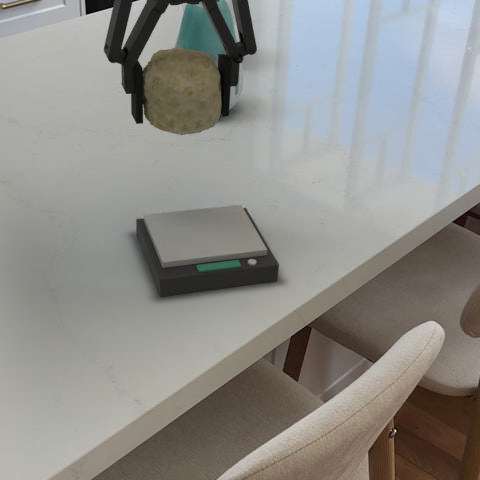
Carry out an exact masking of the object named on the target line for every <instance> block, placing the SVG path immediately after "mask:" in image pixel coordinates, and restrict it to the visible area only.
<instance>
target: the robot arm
mask: <svg viewBox="0 0 480 480" xmlns="http://www.w3.org/2000/svg"><path fill="white" fill-rule="evenodd" d="M133 2H134V0H114V1H113V5H112V11H111V14H110V19H109V23H108V28H107V32H106V37H105V41H104V46H103V53H104V54H105V57H106V58H107V60H108V62H109V63H111V64H119V65H120V67H121V69H120V70H121V86H122V89H123V90H124V92H125V94H126V95H130V113H131V116H132V118H133V119H134V122H135V124H136V125H140V124H144V107H143V69H144V67H142V65H141V63H140V62H139V61H140V60H139V59H140V57H141V55H142V53H143V51H144V49H145V47H146V45H147V44H148V41H149V40H150V38H151V36H152V34H153V32H154V30H155V28H156V26H157V25H158V22H159V20H160V18H161V17H162V15H163V14H164V13H166V11H167V9H168V8H169V5H170V6H180V5H182V4H183V3H188V4H192V5H194V4H199V2H201V4H202V5H203V7H204V9H205V11H206V13H207V15H208V17H209V19H210V21H211V23H212V25H213V27H214V29H215V31H216V33H217V35H218V37H219V39H220V41H221V43H222V45H223V47H224V49H225V51H226V55H225V54H218V69H219V72H220V82H221V115H220V116H221V117H223V118H225V117H227V118H228V117H230V110H229V107H230V88H231V87H232V86H237V84H238V82H239V65H240V63H243V61H244V57H246V56H248V55H250V56H253V55H255V54H256V53H257V51H258V46H257V41H256V35H255V31H254V24H253V21H252V20H253V19H252V15H251V14H252V13H251V9H250V4H249V0H232V4H233V9H234V14H235V20H236V23H235V25H236V28H237V35H238V39H239V41H237V43H236V42H235V40H234V38H233V36H232V34H231V32H230V30H229V28H228V26H227V24H226V22H225V20H224V18H223V16H222V14H221V11H220V9H219V7H218V4H217V2H216V0H146V2H145V4H144V6H143V8H142V10H141V12H140V14H139V16H138V17H137V20H136V21H135V23H134V25H133V27H132V29H131V31H130V33H129V35H128V37H127V39H126V41H125V43H124V40H125V36H126V33H127V32H126V31H127V28H128V23H129V18H130V14H131V10H132V6H133Z"/></svg>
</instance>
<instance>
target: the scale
mask: <svg viewBox="0 0 480 480" xmlns="http://www.w3.org/2000/svg"><path fill="white" fill-rule="evenodd" d="M142 216H143V218H136V220H135V229H136V230H135V235H136V238H137V241H138V244H139V246H140V249H141V251H142V254H143V256H144V259H145V261H146V265H147V267H148V270H149V272H150V276H151V277H152V279H153V283H154V285H155V286H154V287H155V288H156V290H157V293H158V296H159V298H161V297H168V296H169V297H170V296H177V295H183V294H190V293H191V294H192V293H198V292H206V291H212V290H214V291H215V290H221V289H227V288H228V289H229V288H237V287H244V286H252V285H258V284H265V283H274V282H278V278H279V268H280V264H279V262H278V260H277V259H276V256H274V255H275V254H273V251H272V250H271V248H270V247H269V245H268V243H267V242H266V239H265V238H264V236H263V234H262V233H261V231H260V229H259V227H258V226H257V224H256V222H255V220H254V219H253V217H252V215H251V214H250V212H249V211H248V209H247V207H243V205H242V204H235V205H225V206H216V207H207V208H206V207H205V208H196V209H187V210H178V211H168V212H158V213H148V214H143V215H142Z"/></svg>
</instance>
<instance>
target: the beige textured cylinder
mask: <svg viewBox="0 0 480 480" xmlns="http://www.w3.org/2000/svg"><path fill="white" fill-rule="evenodd" d="M220 113H221V82H220V72H219V69H218V68H217V66H216V65H215V63H214V61H213V58H211V57H210V56H209V54H207V53H205V52H199V51H195V50H188V49H184V48H180V47H178V48H174V47H173V48H168V49H159V50H157V51H156V52H154V53H153V54H152V56H151V58H150V60H149V61H147V64H146V65H145V66H144V67H143V116H144V117H145V119H146V120H147V121H148V122H149V124H150V126H153V128H156V129H158V130H159V131H162V132H167V133H171V134H174V135H180V136H185V135H193V134H199V133H202V132H204V131H207V130H209V129H212V128H214V127H215V126H216V125H217V123H218V122H219V119H220V117H221V115H220Z"/></svg>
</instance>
